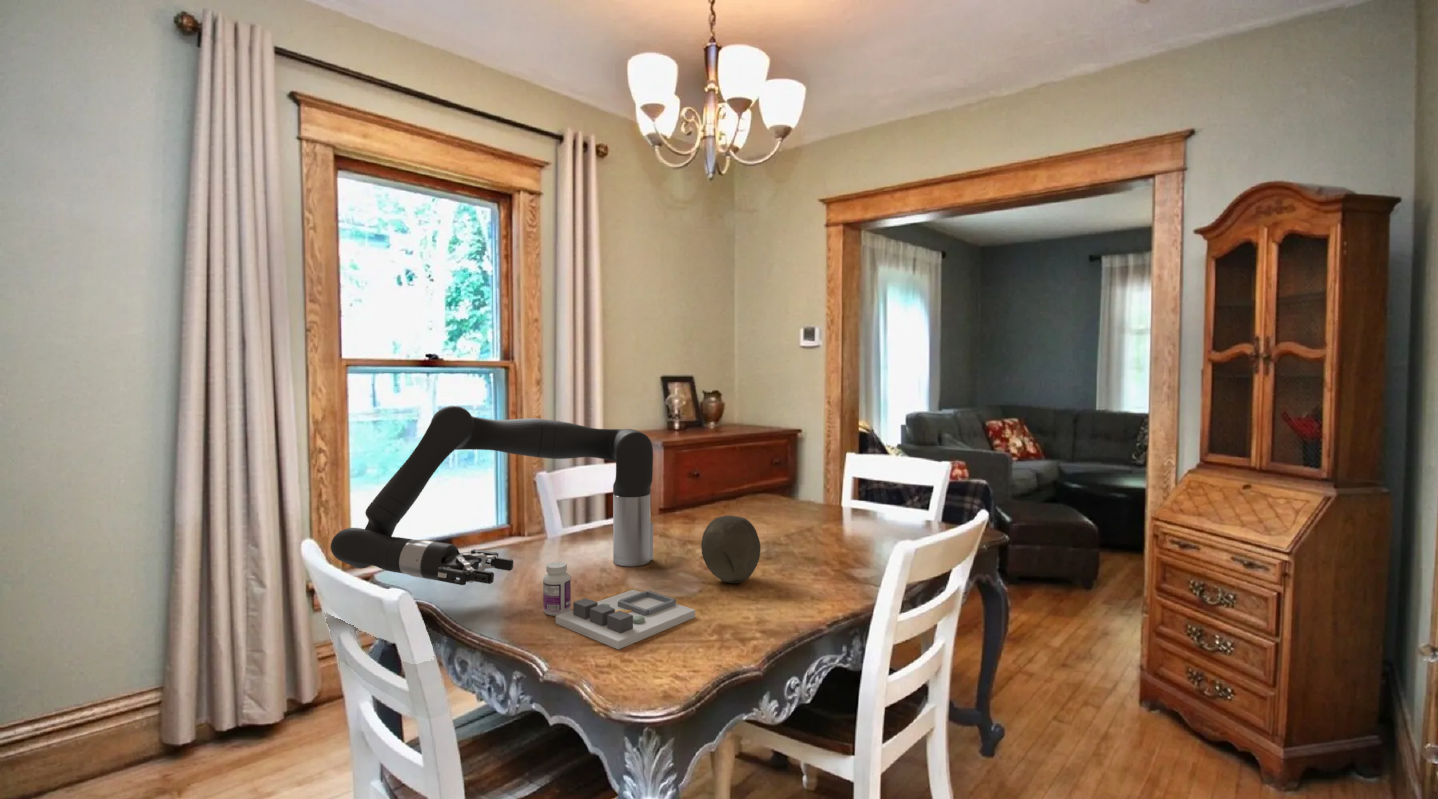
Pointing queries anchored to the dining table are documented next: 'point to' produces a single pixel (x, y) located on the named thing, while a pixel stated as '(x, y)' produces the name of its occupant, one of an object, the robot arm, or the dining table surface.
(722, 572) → the dark grey rounded stone
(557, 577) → the pill bottle
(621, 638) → the board
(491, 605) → the dining table surface
